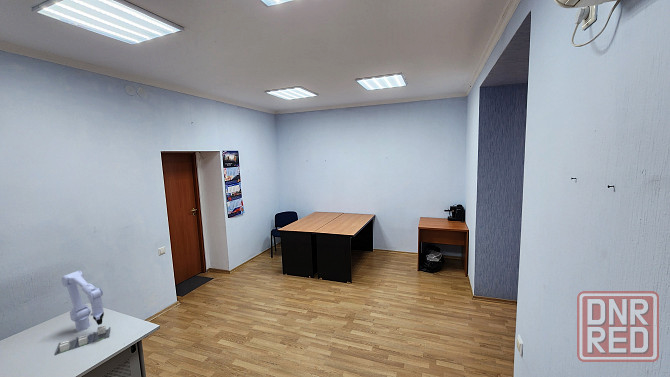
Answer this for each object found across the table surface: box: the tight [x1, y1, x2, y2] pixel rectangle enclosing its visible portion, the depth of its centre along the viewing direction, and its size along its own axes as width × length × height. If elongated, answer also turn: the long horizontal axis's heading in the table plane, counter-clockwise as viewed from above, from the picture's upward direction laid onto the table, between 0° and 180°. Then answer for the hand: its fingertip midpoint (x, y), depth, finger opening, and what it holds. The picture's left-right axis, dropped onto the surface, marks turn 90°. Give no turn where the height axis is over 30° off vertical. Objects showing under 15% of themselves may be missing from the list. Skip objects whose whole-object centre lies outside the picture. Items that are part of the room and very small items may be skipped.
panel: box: [54, 326, 111, 356], centre depth 185 cm, size 12×27×2 cm, turn 126°
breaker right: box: [59, 340, 70, 352], centre depth 177 cm, size 4×4×4 cm
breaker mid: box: [78, 334, 88, 347], centre depth 182 cm, size 4×4×4 cm
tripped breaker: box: [96, 324, 107, 335], centre depth 193 cm, size 4×4×4 cm
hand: (100, 324), depth 190 cm, fingers closed
